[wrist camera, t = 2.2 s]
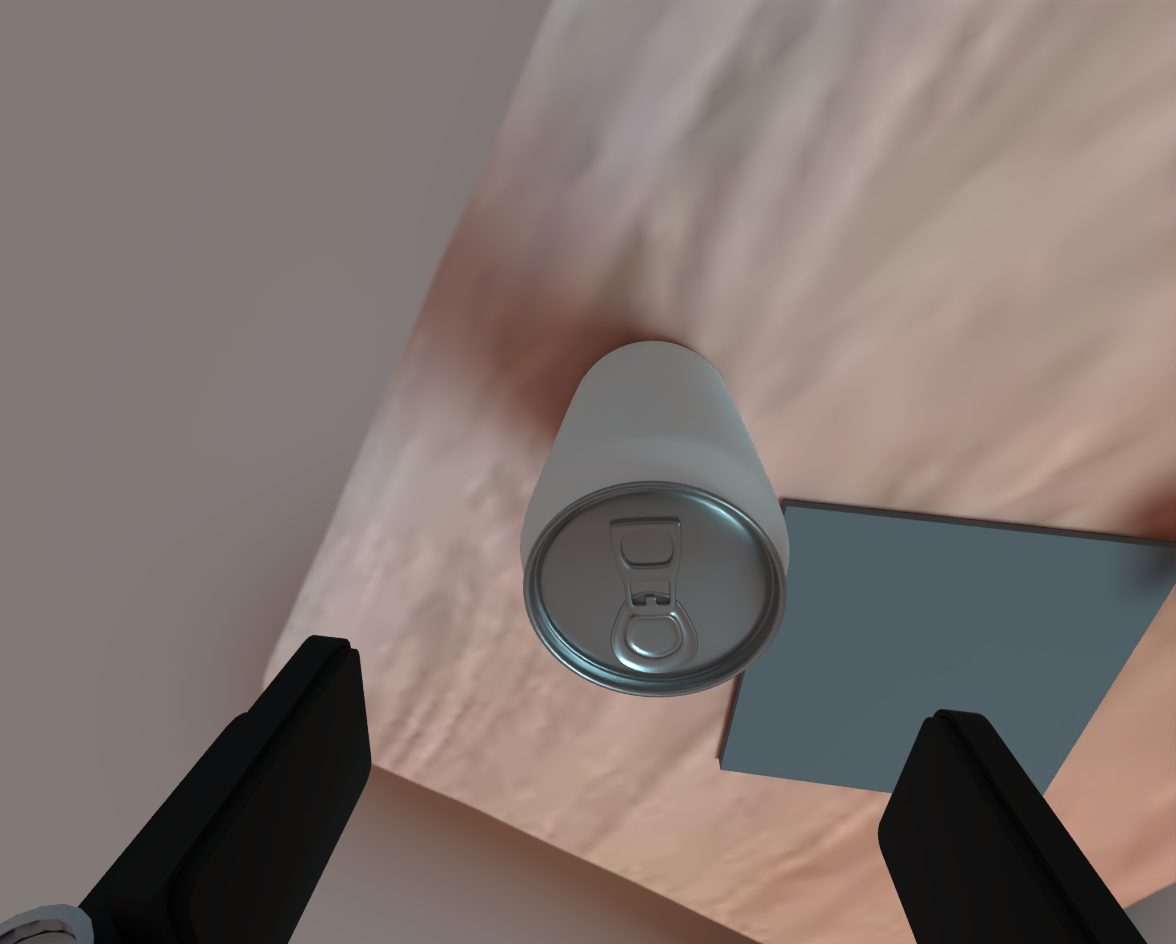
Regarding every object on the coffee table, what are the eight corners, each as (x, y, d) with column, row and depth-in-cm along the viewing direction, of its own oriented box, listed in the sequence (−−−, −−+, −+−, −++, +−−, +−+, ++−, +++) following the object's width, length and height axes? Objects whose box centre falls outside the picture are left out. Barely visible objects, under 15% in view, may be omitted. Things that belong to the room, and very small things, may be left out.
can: (581, 492, 25) (527, 712, 14) (562, 345, 22) (477, 472, 11) (732, 485, 24) (801, 711, 13) (731, 330, 21) (818, 451, 10)
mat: (783, 499, 24) (787, 506, 23) (1182, 542, 23) (1196, 550, 22) (718, 759, 31) (720, 769, 30) (1024, 801, 30) (1031, 812, 29)
